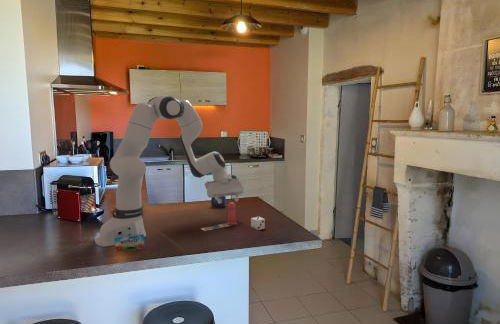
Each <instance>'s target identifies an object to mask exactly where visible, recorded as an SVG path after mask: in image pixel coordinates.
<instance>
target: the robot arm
mask: <svg viewBox="0 0 500 324" xmlns="http://www.w3.org/2000/svg"><path fill="white" fill-rule="evenodd" d="M158 119H160V120H175V121H176V123H177V125H178V126H179V127H180V130H181V134H180V136H179V140H180V144H181V148H182V151H183V153H184V155H185V158H186V160H187V163H188V166H189V171H190V173H191V175H192V176H193V177H194V178H198V179H201V178H203V177H204V176H206V175H208V174H210V173H211V174H212V179H213V180H211V181H210V180H209V181H208V180H207V181H206V182H205V183H204V187H205V190H206V196H207V197H208V198H209V199H210V198H211V197H215V199H216V200H217V201H218V203H222V201H221V199H219V198H218V197H221V196H226V197H231V196H234V201H235V202H236V203H237V202H239V196H241V195H243V193H244V191H245V189H244V185H243V184H242V182H241V181H240V180H239V176H238V175H234V174H230V173H229V172H228V170H227V164H226V160H225V158H224V156H223V154H222V153H220V152H218V151H211V152H208V153H206V154H204V155H203V156H200V157H198V158H196V157H195V154H194V151H193V148H192V143H193V142H194V141H195V140H196V139H197V138H198V137H199V136H200V134H201V133H202V130H203V128H204V127H203V121H202V118H201V117H200V115H199V114H198V112H197V110H196V108H194V106H193V105H192V103H191V102H190V101H189V100H188V99H187V100H186V99H180V100H179V99H177V98H176V97H173V96H166V95H162V96H155V97H153V98H151V99H150V100H149V101H147V102H140V103H137V104H136V106H135V107H134V108H133V109H132V112H131V114H130V116H129V119H128V122H127V126H126V129H125V132H124V135H123V137H122V140H121V142H120V143H119V145H118V147H117V149H116V151H115V153H114V155H113V156H112V157H111V159H110V161H109V167H110V169H111V171H112V172H113V174H115V175H116V176H118V183H117V188H116V191H115V202H116V204H115V205H116V207H115V208H114V209H113V208H110V209H109V213H110V214H111V215H112V216H111V218H109V219H108V220H107V221H106V222H105V223H103V225H101V226H100V231H99V235H96V236H95V237H94V243H95V244H96V245H97V246H99V247H103V248H105V247H112V246H115V242H114V238H115V237H118V236H128V235H139V234H144V238H145V237H147V233H146V230H145V226H144V225H145V224H144V220H143V218H144V209H143V205H142V187H143V186H142V185H143V181H144V175H146V172H147V165H146V163H145V162H144V161H143V160H142V159H141V158H140V157H141V155H142V153H143V152H144V150H145V149H146V148H147V146H148V145H149V141H150V137H151V135H152V132H153V128H154V124H155V123H156V121H157V120H158ZM235 202H234V203H235Z"/></svg>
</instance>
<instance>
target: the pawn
mask: <svg viewBox="0 0 500 324" xmlns="http://www.w3.org/2000/svg"><path fill="white" fill-rule="evenodd" d="M226 223H227V224H228V225H231V226H236V225H237V224H236V223H237V220H236V204H235V202H232V201H231V202H229V203H228V204H227V222H226ZM235 224H236V225H235Z"/></svg>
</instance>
